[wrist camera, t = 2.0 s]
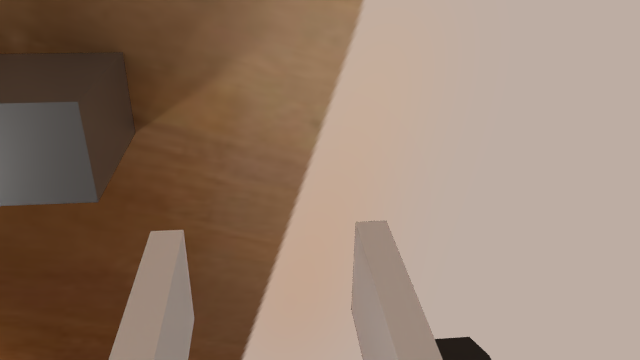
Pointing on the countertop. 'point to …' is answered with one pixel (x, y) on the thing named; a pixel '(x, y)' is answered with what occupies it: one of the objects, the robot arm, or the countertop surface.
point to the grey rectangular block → (61, 126)
